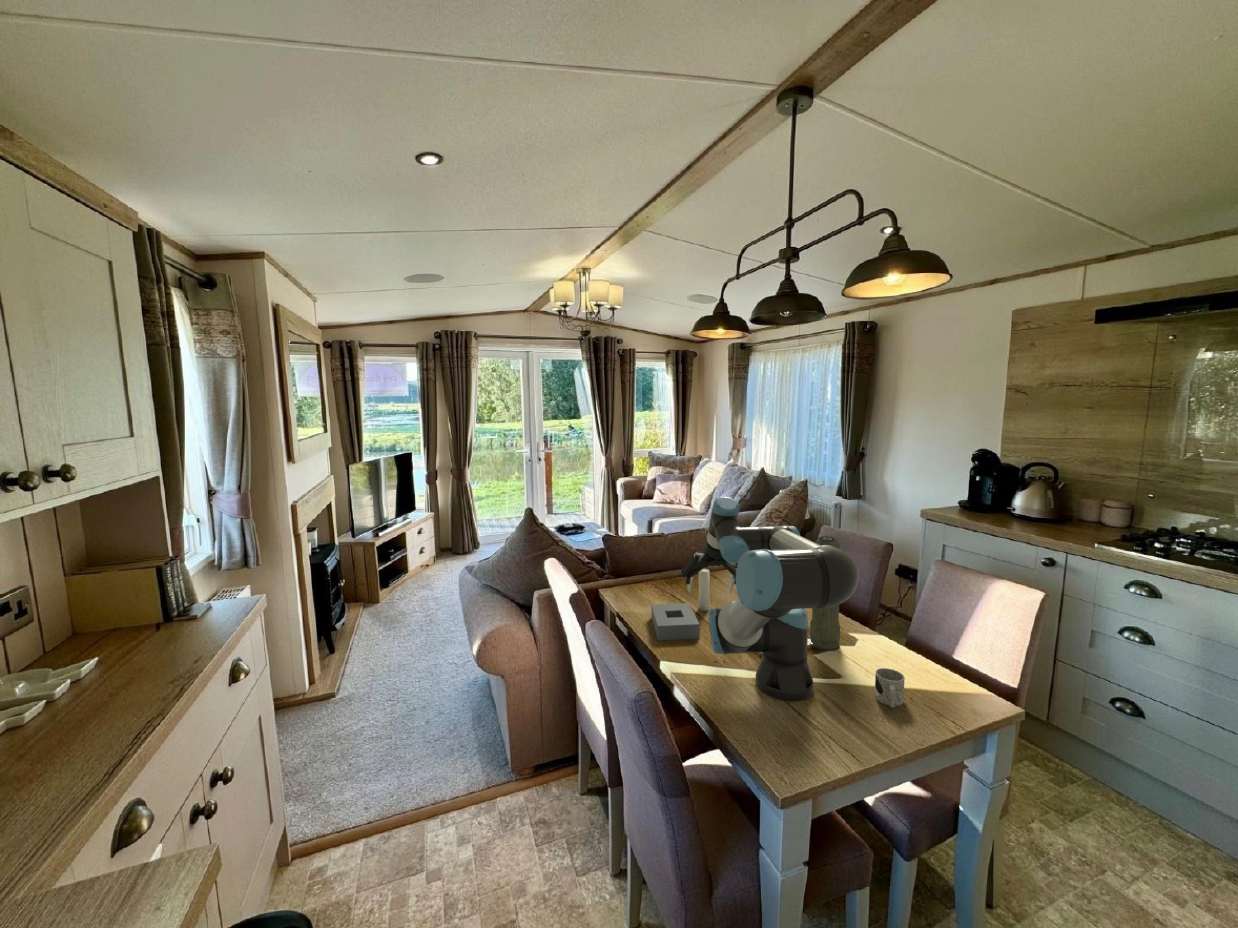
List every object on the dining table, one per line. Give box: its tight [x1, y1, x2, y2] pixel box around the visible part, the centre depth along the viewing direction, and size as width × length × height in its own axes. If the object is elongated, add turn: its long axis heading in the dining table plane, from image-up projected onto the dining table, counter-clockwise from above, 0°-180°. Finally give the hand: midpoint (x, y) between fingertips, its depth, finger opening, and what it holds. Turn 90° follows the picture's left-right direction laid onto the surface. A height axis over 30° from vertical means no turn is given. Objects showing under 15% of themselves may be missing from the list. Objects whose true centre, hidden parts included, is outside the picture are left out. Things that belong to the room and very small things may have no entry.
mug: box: [874, 667, 905, 709], centre depth 129 cm, size 10×7×7 cm
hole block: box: [650, 602, 701, 641], centre depth 175 cm, size 18×14×5 cm
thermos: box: [809, 535, 841, 652], centre depth 159 cm, size 9×12×35 cm
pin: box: [698, 568, 711, 612], centre depth 190 cm, size 4×4×15 cm
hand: (709, 589), depth 164 cm, fingers open, 13 cm apart
